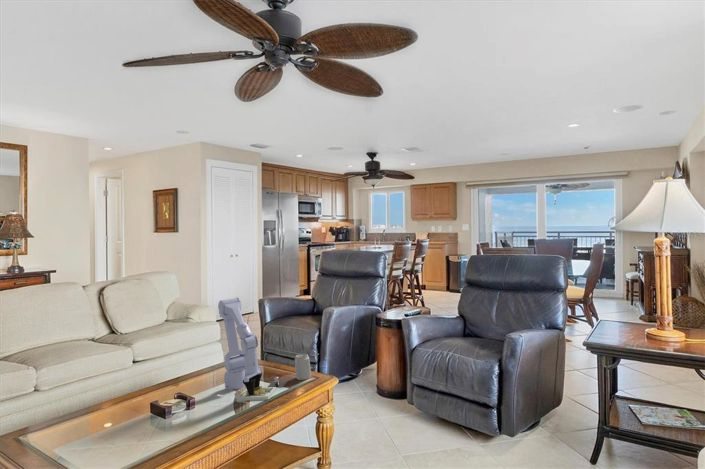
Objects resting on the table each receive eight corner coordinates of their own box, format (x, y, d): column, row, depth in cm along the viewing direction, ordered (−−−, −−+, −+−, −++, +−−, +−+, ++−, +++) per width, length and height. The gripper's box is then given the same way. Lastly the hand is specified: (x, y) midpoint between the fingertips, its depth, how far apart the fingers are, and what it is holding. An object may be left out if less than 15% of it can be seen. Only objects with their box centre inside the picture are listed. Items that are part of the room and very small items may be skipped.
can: (310, 380, 210) (308, 356, 210) (295, 382, 210) (293, 357, 210) (312, 375, 218) (309, 352, 218) (297, 377, 218) (295, 353, 218)
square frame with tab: (246, 396, 193) (246, 391, 193) (251, 391, 198) (250, 386, 198) (263, 395, 192) (263, 390, 192) (267, 391, 197) (267, 386, 197)
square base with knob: (266, 389, 203) (265, 380, 203) (272, 383, 211) (271, 374, 211) (282, 388, 202) (281, 379, 202) (287, 383, 210) (286, 374, 210)
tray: (236, 402, 190) (236, 397, 190) (246, 393, 201) (246, 388, 201) (268, 401, 188) (268, 396, 188) (276, 391, 199) (276, 387, 199)
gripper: (253, 367, 187) (256, 398, 187) (265, 357, 202) (268, 386, 201) (238, 368, 188) (241, 398, 188) (251, 358, 203) (253, 386, 203)
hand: (254, 392), depth 195 cm, fingers closed on square frame with tab, 5 cm apart
